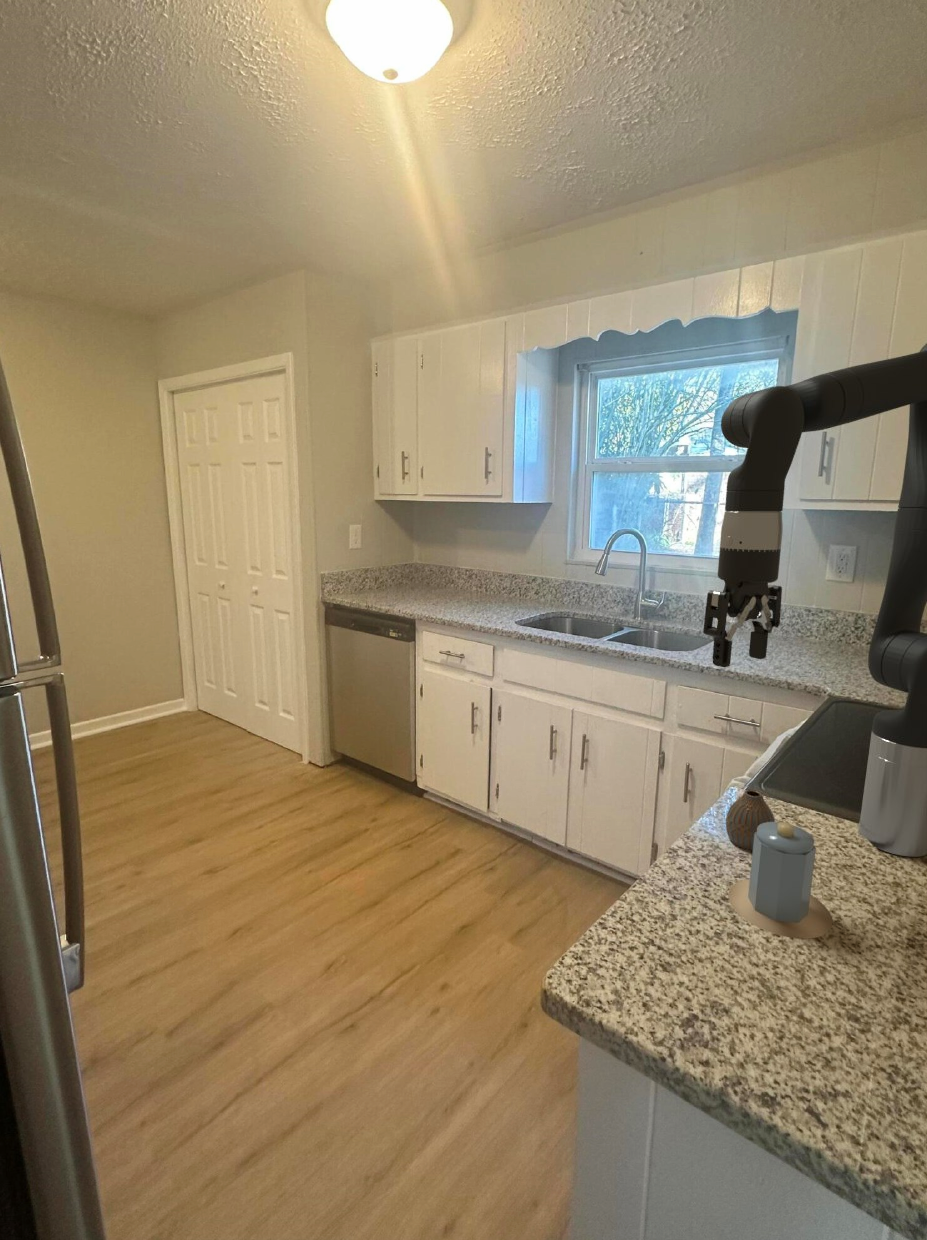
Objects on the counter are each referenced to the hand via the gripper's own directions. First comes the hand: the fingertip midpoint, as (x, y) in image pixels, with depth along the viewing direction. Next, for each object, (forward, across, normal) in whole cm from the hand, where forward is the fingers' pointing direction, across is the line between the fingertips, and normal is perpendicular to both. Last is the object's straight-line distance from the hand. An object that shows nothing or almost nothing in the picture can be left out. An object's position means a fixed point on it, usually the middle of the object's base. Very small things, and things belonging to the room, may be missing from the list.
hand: (739, 661), depth 87 cm
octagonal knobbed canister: (+29, -5, -11) cm, 32 cm away
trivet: (+30, -5, -11) cm, 33 cm away
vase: (+30, +6, 0) cm, 31 cm away
